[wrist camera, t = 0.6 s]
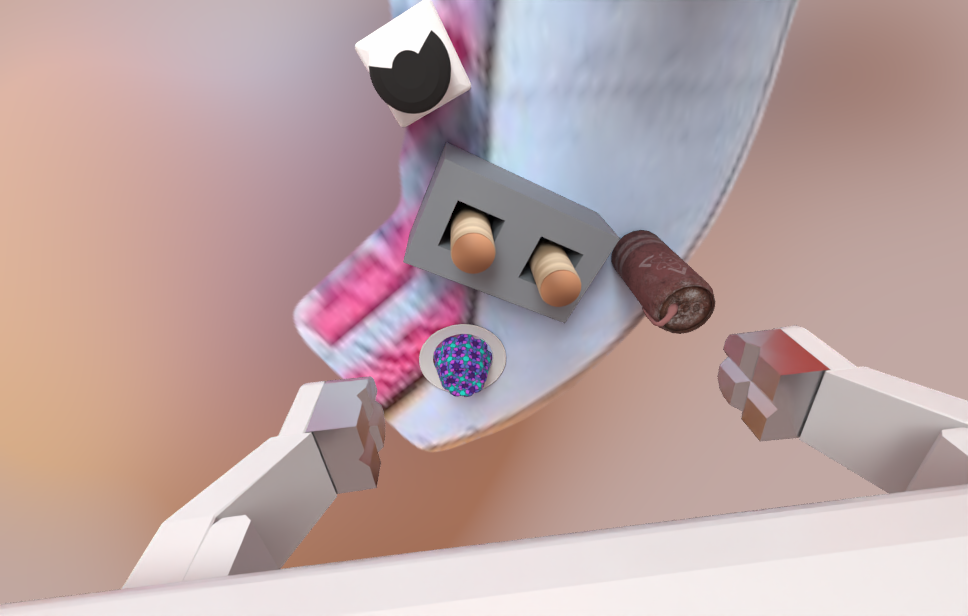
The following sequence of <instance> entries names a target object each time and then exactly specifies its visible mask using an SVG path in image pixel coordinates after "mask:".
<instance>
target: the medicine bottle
mask: <svg viewBox="0 0 968 616" xmlns="http://www.w3.org/2000/svg"><path fill="white" fill-rule="evenodd" d="M355 49H356V52H357V53H358V55H359V57H360V58H361V60H362V62H363V64H364V65H365V67H366V69H367V70H368V72H369V74H370V77H371V80H372V83H373V86H374V88H375V90H376V91H377V93H378V94H379V96H380V97H381V98H382V99H383V100H384V101H385V102H386V103H387V105H388V107H389V109H390V110H391V112H392V114H393V115H394V117H395V119H396V120H397V122H398V124H399V126H400V127H402V128H404V127H406V126H408V125H410V124H412V123H413V122H415V121H417V120H418V119H420V118H422V117H424V116H425V115H427V114H429V113H430V112H432V111H434V110H436V109H437V108H439V107H441V106H442V105H444V104H446V103H447V102H449V101H451V100H453V99H454V98H456V97H458V96H459V95H461V94H463V93H465V92H466V91H468V90H469V89H470V88H471V83H470V81H469V79H468V77H467V74H466V72H465V70H464V68H463V66H462V64H461V62H460V60H459V57H458V55H457V53H456V51H455V49H454V47H453V45H452V43H451V41H450V38H449V36H448V34H447V32H446V30H445V28H444V26H443V24H442V21H441V19H440V17H439V15H438V13H437V11H436V9H435V7H434V5H433V2H432V1H431V0H423V1H421V2H420V3H418V4H417V5H415V6H413V7H412V8H410V9H409V10H407V11H406V12H404V13H403V14H401V15H399V16H398V17H396V18H395V19H393V20H392V21H390V22H389V23H387V24H386V25H384V26H383V27H381V28H379V29H378V30H376V31H375V32H373V33H372V34H370V35H368V36H367V37H365V38H364V39H362V40H361V41H359V42H357V43H356V45H355Z"/></svg>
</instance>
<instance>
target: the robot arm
mask: <svg viewBox="0 0 968 616" xmlns="http://www.w3.org/2000/svg"><path fill="white" fill-rule="evenodd" d="M723 350H724V351H725V353H726V354H727V356H728V357H727V358H726V359H725V360H724V361H723V362H722V363H721V364H720V367H719V372H718V381H719V388H720V390H721V392H722V394H723V396H724V398H725V399H726V400H727V402H728V403H729V404H730V405H731V406H733V407H735V408H737V409H739V410H741V411H742V418H741V419H742V420H743V422H744V423H745V424H746V425H747V426H748V427H749V429H750V430H751V431H752V432H753V433H754V435H755V436H756V437H757V438H758V440H759V441H768V440H779V439H790V438H799V439H800V440H801V441H803V442H804V443H806V444H808V445H809V446H811V447H813V448H814V449H816V450H818V451H819V452H821V453H823V454H824V455H826V456H828V457H829V458H831V459H833V460H834V461H836V462H837V463H839V464H841V465H843V466H844V467H846V468H847V469H849V470H851V471H853V472H854V473H856V474H858V475H859V476H861V477H862V478H864V479H866V480H868V481H870V482H871V483H872V484H874V485H876V486H878V487H879V488H881V489H882V490H884V491H886V492H887V493H889V494H882V495H874V496H866V497H858V498H850V499H842V500H834V501H825V502H817V503H809V504H801V505H793V506H785V507H777V508H769V509H761V510H753V511H745V512H737V513H729V514H721V515H713V516H704V517H696V518H689V519H680V520H672V521H664V522H656V523H648V524H641V525H632V526H624V527H616V528H608V529H600V530H592V531H584V532H575V533H568V534H559V535H552V536H543V537H535V538H527V539H520V540H512V541H503V542H495V543H487V544H479V545H471V546H463V547H455V548H447V549H439V550H431V551H424V552H414V553H406V554H398V555H390V556H383V557H374V558H366V559H359V560H350V561H342V562H335V563H326V564H318V565H311V566H302V567H294V568H286V569H281V567H282V566H283V565H284V563H285V562H286V561H287V559H288V558H289V557H290V556H291V554H292V553H293V552H294V551H295V549H296V548H297V547H298V545H299V544H300V543H301V542H302V540H303V539H304V538H305V536H306V535H307V534H308V533H309V531H310V530H311V529H312V528H313V526H314V525H315V524H316V523H317V521H318V520H319V519H320V517H321V516H322V515H323V514H324V512H325V511H326V510H327V508H328V507H329V506H330V505H331V503H332V502H333V501H334V500H335V498H336V497H337V494H340V493H346V492H353V491H359V490H366V489H372V488H377V482H378V477H379V471H380V465H381V461H380V458H379V454H378V452H379V451H380V450H381V449H382V448H383V447H384V440H385V419H384V413H383V409H382V405H380V404H379V403H378V402H376V401H375V399H376V395H377V388H376V385H375V382H374V379H373V378H372V377H361V378H351V379H340V380H330V381H322V382H312V383H305V384H304V385H302V386H301V387H300V389H299V391H298V394H297V396H296V398H295V400H294V403H293V404H292V407H291V409H290V411H289V413H288V415H287V418H286V420H285V422H284V424H283V426H282V429H281V431H280V433H279V435H278V436H277V437H271V438H269V439H268V440H267V441H266V442H264V443H263V444H262V445H261V446H259V447H258V448H257V449H256V450H254V451H253V452H252V453H251V454H249V455H248V456H247V457H245V458H244V459H243V460H242V461H240V462H239V463H238V464H236V465H235V466H234V467H233V468H231V469H230V470H229V471H228V472H226V473H225V474H224V475H223V476H221V477H220V478H219V479H217V480H216V481H215V482H214V483H213V484H211V485H210V486H209V487H207V488H206V489H205V490H204V491H202V492H201V493H200V494H198V495H197V496H196V497H195V498H193V499H192V500H191V501H190V502H188V503H187V504H186V505H185V506H183V507H182V508H181V509H180V510H178V511H177V512H176V513H174V514H173V515H172V516H171V517H169V518H168V519H167V520H166V521H164V522H163V523H162V524H161V526H160V528H159V529H158V531H157V533H156V534H155V536H154V537H153V539H152V541H151V543H150V544H149V545H148V547H147V549H146V550H145V552H144V553H143V555H142V557H141V558H140V560H139V561H138V563H137V565H136V566H135V568H134V570H133V571H132V573H131V574H130V576H129V578H128V579H127V581H126V582H125V584H124V586H123V587H122V589H118V590H109V591H102V592H93V593H85V594H77V595H70V596H61V597H54V598H45V599H37V600H29V601H21V602H13V603H5V604H0V616H968V401H966V400H963V399H960V398H957V397H954V396H951V395H948V394H945V393H943V392H940V391H937V390H933V389H931V388H928V387H924V386H922V385H919V384H915V383H913V382H910V381H907V380H903V379H901V378H897V377H895V376H892V375H889V374H886V373H883V372H880V371H877V370H874V369H871V368H868V367H865V366H864V367H856V366H855V365H854V364H852V363H851V362H850V361H848V360H847V359H846V358H844V357H843V356H842V355H840V354H839V353H838V352H836V351H835V350H833V349H832V348H831V347H830V346H828V345H827V344H825V343H824V342H823V341H822V340H820V339H819V338H818V337H816V336H815V335H814V334H812V333H811V332H809V331H808V330H807V329H805V328H804V327H801V326H797V325H794V326H788V327H781V328H774V329H772V330H764V331H755V332H747V333H739V334H732V335H729V336H728V338H727V339H726V341H725V345H724V349H723Z"/></svg>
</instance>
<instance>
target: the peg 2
mask: <svg viewBox="0 0 968 616" xmlns="http://www.w3.org/2000/svg"><path fill="white" fill-rule="evenodd" d="M528 262H529V265H530V268H531V271H532V274H533V276H534V279H535V282H536V285H537V288H538V290H539V293H540V296H541V298H542V299H543V300H544V301H545V302H546V303H547V304H549V305H551V306H555V307H562V306H566V305H569V304H571V303H572V302H573V301H575V300H576V299H577V297H578V296H579V294H580V291H581V280H580V278H579V276H578V274H577V272H576V270H575V269H574V267H573V265H572V263H571V261H570V260H569V258H568V256H567V254H566V252H565V251H564V249H563V247H562V245H560V244H558V243H555V242H553V241H551V240H548V239H544V240H540V241H538V243H537V245H536V247H535V248H534V250H533V252H532V254H531V256H530V257H529V259H528Z"/></svg>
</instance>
